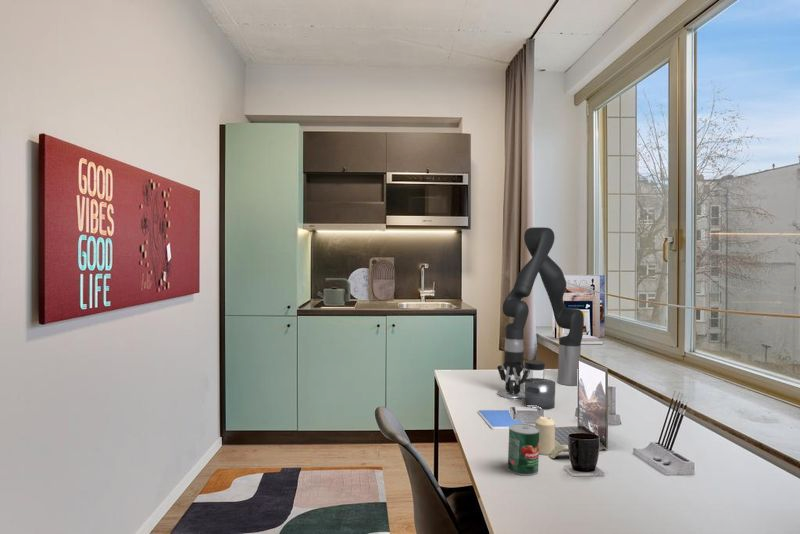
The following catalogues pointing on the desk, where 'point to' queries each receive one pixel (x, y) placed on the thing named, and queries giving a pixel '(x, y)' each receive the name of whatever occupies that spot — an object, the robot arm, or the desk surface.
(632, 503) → the desk surface
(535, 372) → the jar
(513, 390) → the lid
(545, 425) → the candle
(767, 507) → the desk surface
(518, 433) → the canned tomato
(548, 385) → the pot
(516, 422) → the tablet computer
